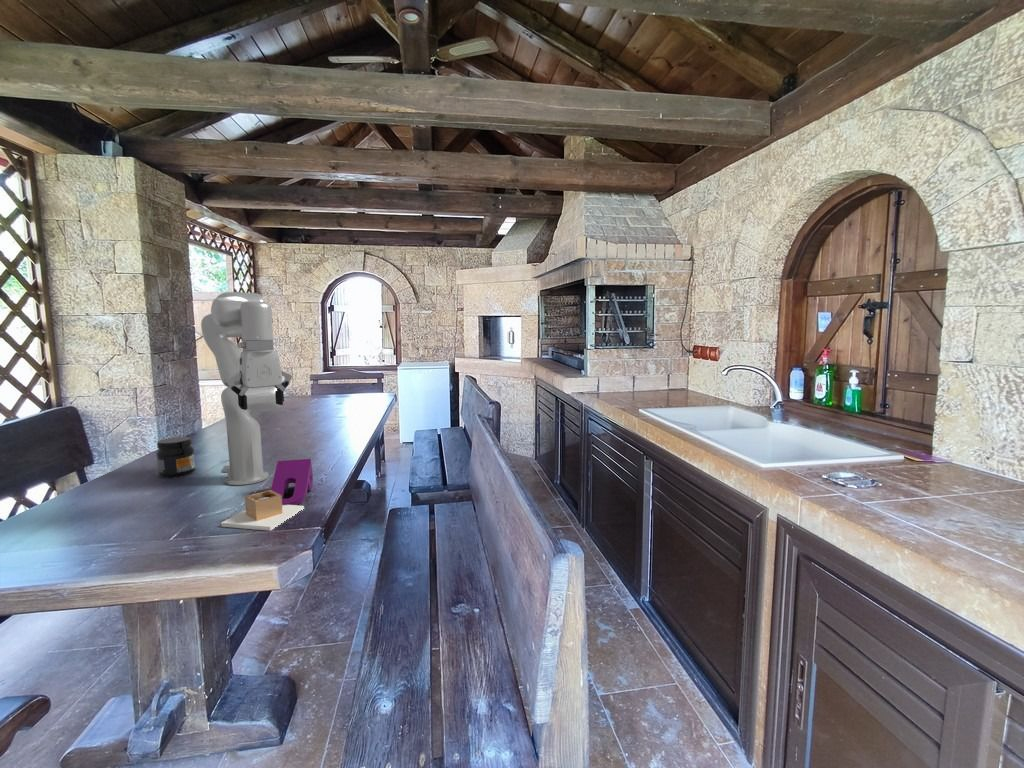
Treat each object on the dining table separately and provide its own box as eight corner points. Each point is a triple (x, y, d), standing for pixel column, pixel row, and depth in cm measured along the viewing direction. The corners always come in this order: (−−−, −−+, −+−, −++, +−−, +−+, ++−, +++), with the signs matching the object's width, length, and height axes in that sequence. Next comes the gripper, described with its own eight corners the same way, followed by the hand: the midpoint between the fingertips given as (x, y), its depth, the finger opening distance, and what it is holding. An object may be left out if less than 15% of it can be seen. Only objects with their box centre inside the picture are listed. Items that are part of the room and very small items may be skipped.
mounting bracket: (307, 521, 139) (313, 478, 153) (303, 501, 134) (310, 458, 149) (271, 525, 136) (281, 481, 151) (267, 504, 132) (277, 460, 146)
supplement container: (202, 472, 166) (199, 438, 164) (169, 480, 157) (165, 445, 155) (184, 467, 171) (182, 435, 169) (151, 476, 162) (148, 441, 160)
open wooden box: (256, 521, 122) (255, 502, 121) (246, 514, 126) (244, 496, 126) (282, 513, 127) (281, 495, 127) (271, 507, 131) (270, 489, 131)
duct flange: (221, 526, 121) (219, 507, 121) (259, 505, 135) (258, 488, 134) (270, 530, 119) (269, 511, 118) (304, 509, 132) (303, 492, 132)
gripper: (229, 348, 124) (234, 413, 126) (295, 345, 137) (298, 404, 139) (218, 347, 129) (223, 409, 131) (283, 344, 142) (286, 401, 144)
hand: (262, 406), depth 135 cm, fingers open, 9 cm apart
